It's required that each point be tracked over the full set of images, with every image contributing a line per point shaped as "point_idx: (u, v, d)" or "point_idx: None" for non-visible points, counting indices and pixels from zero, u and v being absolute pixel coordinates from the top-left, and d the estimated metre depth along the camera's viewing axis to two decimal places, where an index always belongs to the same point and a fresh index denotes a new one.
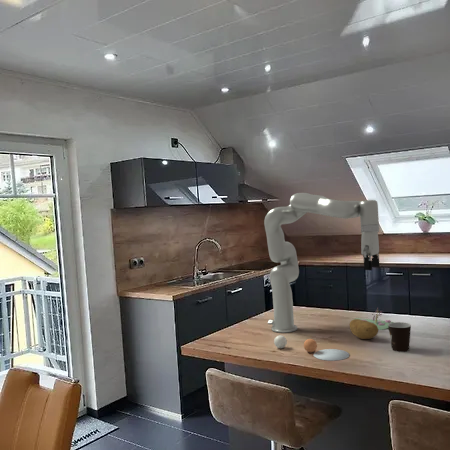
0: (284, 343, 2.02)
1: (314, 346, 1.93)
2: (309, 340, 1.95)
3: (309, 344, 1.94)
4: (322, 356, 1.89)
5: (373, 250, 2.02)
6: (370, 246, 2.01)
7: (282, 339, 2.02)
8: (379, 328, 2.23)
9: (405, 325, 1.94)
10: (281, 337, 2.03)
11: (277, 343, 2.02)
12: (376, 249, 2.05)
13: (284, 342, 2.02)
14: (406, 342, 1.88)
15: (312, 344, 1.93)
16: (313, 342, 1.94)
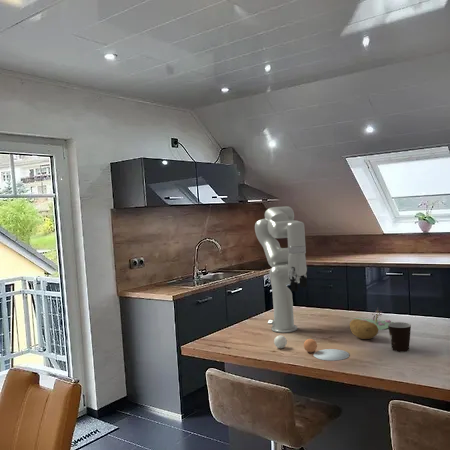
0: (284, 343, 2.02)
1: (314, 346, 1.93)
2: (309, 340, 1.95)
3: (309, 344, 1.94)
4: (322, 356, 1.89)
5: (299, 271, 2.04)
6: (296, 268, 2.03)
7: (282, 339, 2.02)
8: (379, 328, 2.23)
9: (405, 325, 1.94)
10: (281, 337, 2.03)
11: (277, 343, 2.02)
12: (303, 270, 2.07)
13: (284, 342, 2.02)
14: (406, 342, 1.88)
15: (312, 344, 1.93)
16: (313, 342, 1.94)
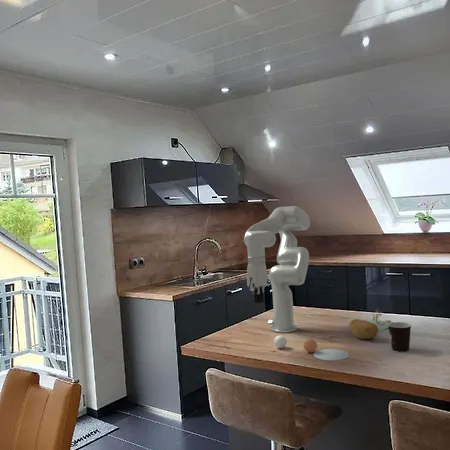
0: (284, 343, 2.02)
1: (314, 346, 1.93)
2: (309, 340, 1.95)
3: (309, 344, 1.94)
4: (322, 356, 1.89)
5: (258, 282, 2.05)
6: (254, 278, 2.04)
7: (282, 339, 2.02)
8: (379, 328, 2.23)
9: (405, 325, 1.94)
10: (281, 337, 2.03)
11: (277, 343, 2.02)
12: (262, 281, 2.08)
13: (284, 342, 2.02)
14: (406, 342, 1.88)
15: (312, 344, 1.93)
16: (313, 342, 1.94)
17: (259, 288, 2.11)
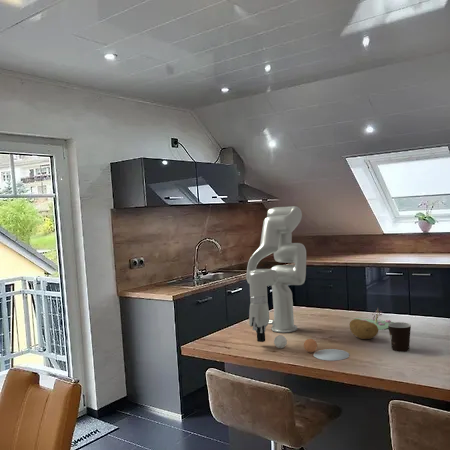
0: (284, 343, 2.02)
1: (314, 346, 1.93)
2: (309, 340, 1.95)
3: (309, 344, 1.94)
4: (322, 356, 1.89)
5: (260, 322, 2.05)
6: (256, 318, 2.04)
7: (282, 339, 2.02)
8: (379, 328, 2.23)
9: (405, 325, 1.94)
10: (281, 337, 2.03)
11: (277, 343, 2.02)
12: (264, 320, 2.08)
13: (284, 342, 2.02)
14: (406, 342, 1.88)
15: (312, 344, 1.93)
16: (313, 342, 1.94)
17: None
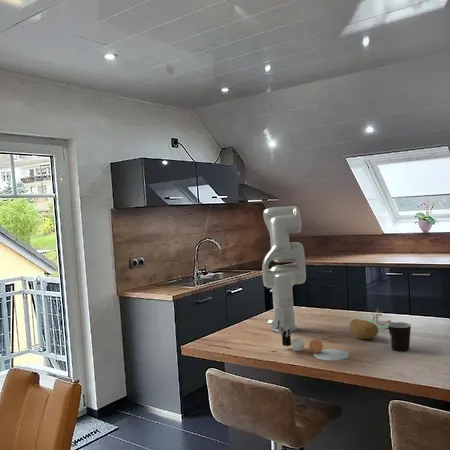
0: None
1: (318, 351, 1.93)
2: (319, 344, 1.92)
3: (316, 347, 1.92)
4: (322, 356, 1.89)
5: (286, 325, 1.98)
6: (282, 322, 1.97)
7: None
8: (379, 328, 2.23)
9: (405, 325, 1.94)
10: None
11: (293, 347, 1.96)
12: (290, 323, 2.01)
13: None
14: (406, 342, 1.88)
15: (318, 349, 1.92)
16: (320, 348, 1.92)
17: None
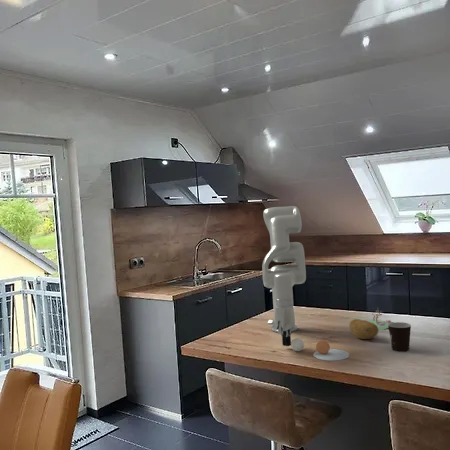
0: None
1: (320, 353, 1.92)
2: (326, 351, 1.91)
3: (322, 351, 1.90)
4: (322, 356, 1.89)
5: (286, 325, 1.98)
6: (282, 322, 1.97)
7: None
8: (379, 328, 2.23)
9: (405, 325, 1.94)
10: None
11: (293, 347, 1.96)
12: (290, 323, 2.01)
13: None
14: (406, 342, 1.88)
15: (321, 353, 1.91)
16: (324, 353, 1.92)
17: None
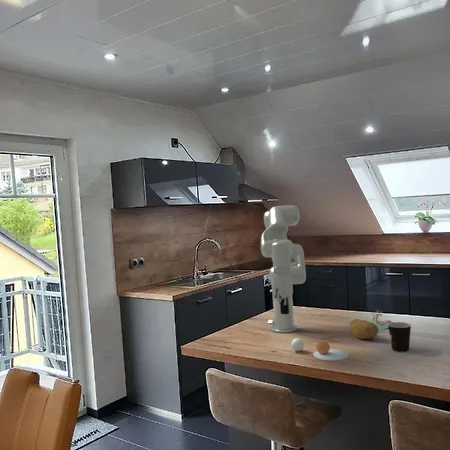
0: None
1: (320, 353, 1.92)
2: (326, 351, 1.91)
3: (322, 351, 1.90)
4: (322, 356, 1.89)
5: (284, 293, 1.98)
6: (280, 289, 1.97)
7: None
8: (379, 328, 2.23)
9: (405, 325, 1.94)
10: None
11: (293, 347, 1.96)
12: (288, 291, 2.00)
13: None
14: (406, 342, 1.88)
15: (321, 353, 1.91)
16: (324, 353, 1.92)
17: None
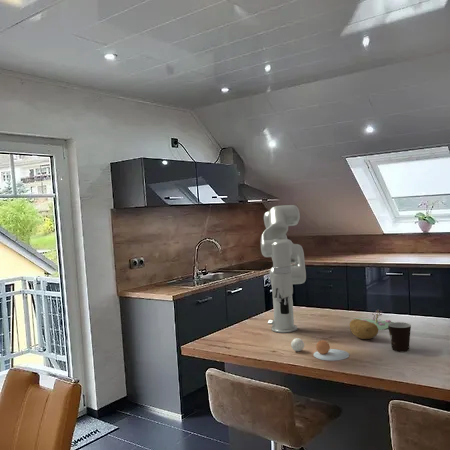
0: None
1: (320, 353, 1.92)
2: (326, 351, 1.91)
3: (322, 351, 1.90)
4: (322, 356, 1.89)
5: (284, 293, 1.98)
6: (280, 289, 1.97)
7: None
8: (379, 328, 2.23)
9: (405, 325, 1.94)
10: None
11: (293, 347, 1.96)
12: (288, 291, 2.00)
13: None
14: (406, 342, 1.88)
15: (321, 353, 1.91)
16: (324, 353, 1.92)
17: None
